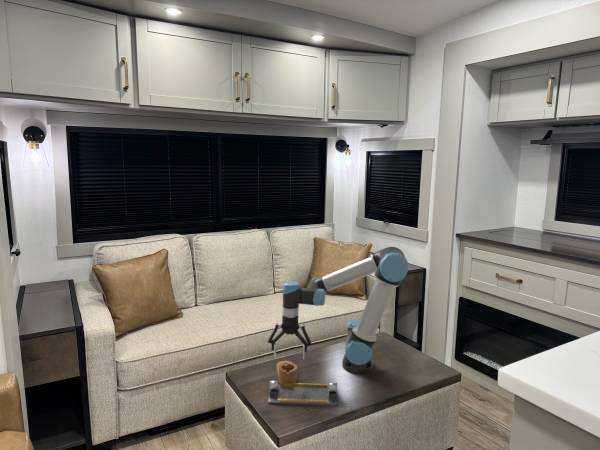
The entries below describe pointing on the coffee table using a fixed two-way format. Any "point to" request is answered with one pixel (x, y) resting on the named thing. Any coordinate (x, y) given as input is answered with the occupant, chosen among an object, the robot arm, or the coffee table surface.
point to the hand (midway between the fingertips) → (289, 357)
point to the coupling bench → (303, 394)
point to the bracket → (287, 372)
